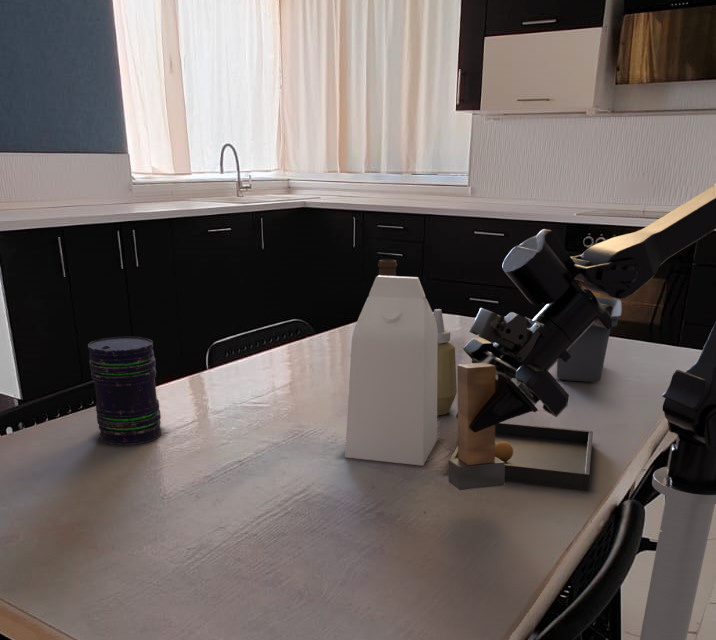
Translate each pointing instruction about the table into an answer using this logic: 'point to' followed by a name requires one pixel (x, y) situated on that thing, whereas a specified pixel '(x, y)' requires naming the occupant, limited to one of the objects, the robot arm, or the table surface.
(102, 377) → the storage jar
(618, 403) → the table surface
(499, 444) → the tan round ball
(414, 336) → the milk
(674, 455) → the robot arm
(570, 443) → the pan
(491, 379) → the wooden block on stand
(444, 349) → the squeeze bottle
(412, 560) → the table surface
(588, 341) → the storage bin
